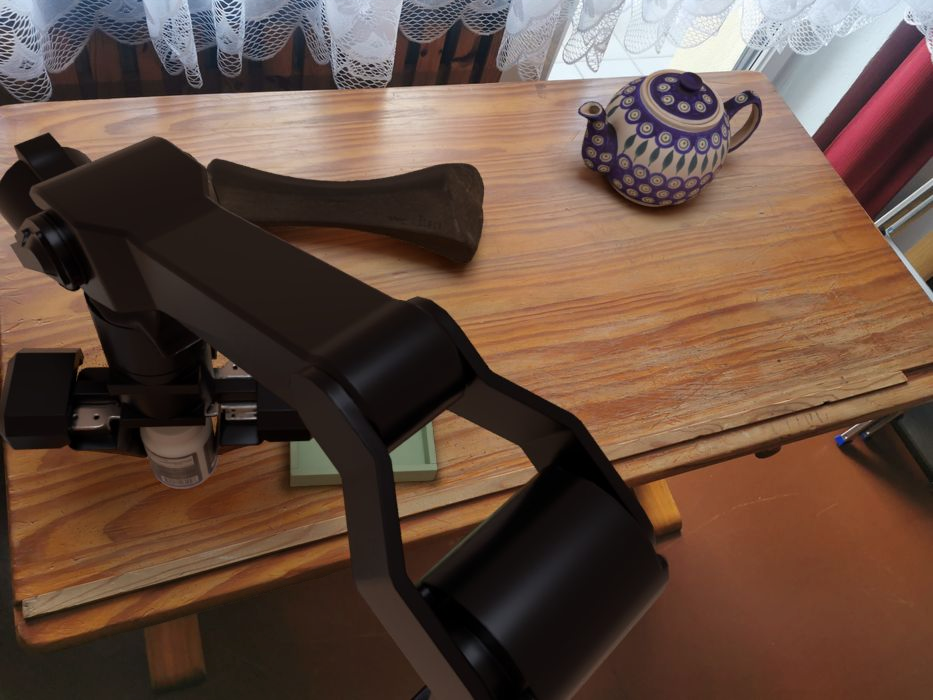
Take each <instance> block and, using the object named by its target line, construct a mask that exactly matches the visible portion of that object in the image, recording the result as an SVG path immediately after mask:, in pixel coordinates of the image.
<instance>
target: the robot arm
mask: <svg viewBox="0 0 933 700" xmlns="http://www.w3.org/2000/svg"><path fill="white" fill-rule="evenodd" d="M13 148H14V151H15V154H16V156H17V159H18V160H16V161H15V162H14V163H13V164H11V166H9V168H8V169H7V170H5V172H4V174H3V176H2V177H1V179H0V215H1V216H2V218H3V219H4V220H5V221H6V222H7V224H8V225H9V226H10V227H11V228H12V229H13V231H14V232H15V234H14V239H15V242H13V243H11V244H9V246H10V247H11V249H12V251H13V252H14V254H15V256H16V257H17V259H18V261H19V262H20V264H21V265H22V267H23V268H24V269H27V270H31V271H33V272H38V273H41V274H44V275H46V276H47V277H49V278H51V279H52V280H53V281H55V282H57V284H58V285H59V286H60V287H62V288H64V289H65V290H66V291H68V292H69V291H70V292H71V293H72V292H73V293H74V292H78V291H79V290H82V291H83V297H84V300H85V303H86V306H87V309H88V311H89V314H90V317H91V320H92V322H93V326H94V329H95V331H96V334H97V337H98V340H99V343H100V346H101V349H102V352H103V355H104V358H105V361H106V363H107V366H87V367H84V368H82V369H80V370H79V368H80V367H81V366H82V365H84V361H85V355H84V353H83V350H82V348H81V347H22V348H21V349H19V350H18V351H17V352H16V353H15V354H13V356H12V357H11V358H9V360H8V361H7V366H6V372H5V375H4V381H3V384H2V385H3V386H2V390H1V395H0V436H1V437H2V439H3V441H5V443H6V444H7V445H8V446H9V447H10V448H11V449H12V450H14V451H30V450H33V451H34V450H60V449H63V448H65V447H66V446H68V447H69V448H70V450H72V451H74V452H90V453H100V454H108V455H109V454H110V455H117V456H125V457H131V458H132V457H133V458H138V459H147V458H148V456H147V453H146V450H145V447H144V444H143V442H142V439H141V436H140V427H179V426H206V417H212V418H216V422H215V429H214V434H215V447H214V454H215V455H216V456H218V457H219V456H223V455H225V454H228V453H230V452H234V451H237V450H240V449H244V448H247V447H257V446H261V445H262V444H263V443H264V442H268V443H288V442H289V443H290V442H297V441H310V440H311V439H312V438H314V439H315V440H316V442H317V443H318V445H319V446H320V447H321V449H322V450H323V452H324V453H325V454H326V456H327V457H328V459H329V460H330V461H331V463H332V464H333V466H334V467H335V468H336V470H337V471H338V473H339V474H340V476H341V480H342V484H341V488H342V496H343V497H342V498H343V504H344V514H345V523H346V531H347V541H348V548H349V549H348V551H349V556H350V568H351V575H352V576H351V577H352V579H353V582H354V585H355V587H356V590H357V592H359V594H360V595H361V597H362V599H364V601H365V602H366V604H367V605H368V607H369V608H370V609H371V610H372V612H373V613H374V615H375V616H376V617H377V619H378V621H379V622H380V623H381V624H382V626H383V627H384V629H385V631H387V633H388V634H389V636H390V637H391V638H392V640H393V641H394V642H395V644H396V646H397V647H398V648H399V650H400V651H401V652H402V654H403V655H404V657H405V658H406V659H407V660H408V662H409V663H410V665H411V666H412V668H413V669H414V670H415V672H416V673H417V675H418V676H419V677H420V679H421V681H423V683H424V685H423V686H422V687H421V689H419V691H417V693H415V694H414V695H413V696H412V697H411V698H410V700H572V698H574V696H575V695H576V694H577V693H578V692H579V690H580V689H581V688H582V687H583V686H584V685H585V683H586V682H587V681H588V680H589V679H590V678H591V677H592V675H594V674H595V672H596V671H597V670H598V669H599V667H600V666H601V665H602V664H603V663H604V661H606V659H607V658H608V657H609V656H610V654H612V653H613V651H614V650H615V649H616V647H617V646H618V645H619V644H620V643H621V642H622V640H624V639H625V637H626V636H627V635H628V634H629V632H630V631H631V630H633V628H634V627H635V626H636V625H637V624H638V622H639V621H640V620H641V618H642V617H644V615H645V614H646V613H647V611H648V610H649V609H651V607H652V606H653V604H654V603H655V602H656V601H657V600H658V599H659V598H660V597H661V595H662V594H664V592H665V591H666V589H667V586H668V583H669V580H670V567H669V563H668V559H667V557H666V555H664V554H663V553H660V552H658V551H656V550H655V546H656V544H657V538H656V531H655V527H654V525H653V522H652V521H651V519H650V517H649V515H648V514H647V512H646V510H645V509H644V507H643V506H642V504H641V503H640V502H639V500H638V499H637V497H636V496H635V495H634V493H633V491H632V490H631V488H629V486H628V484H627V483H626V481H624V479H623V478H622V476H621V475H620V473H619V472H618V470H617V469H616V468H615V466H614V465H613V464H612V462H611V461H610V460H609V458H608V457H607V455H606V454H605V452H604V451H603V449H602V448H601V446H600V445H599V444H598V442H597V441H596V439H595V438H594V437H593V435H592V434H591V432H590V430H588V428H587V427H586V425H585V424H584V422H583V421H582V420H581V419H580V418H579V417H577V416H576V415H575V414H574V413H572V412H571V411H569V410H567V409H565V408H563V407H561V406H559V405H558V404H555V403H553V402H552V401H550V400H547V399H546V398H544V397H542V396H540V395H538V394H537V393H534V392H533V391H530V390H528V389H527V388H526V387H523V386H521V385H519V384H518V383H515V382H514V381H512V380H509V379H508V378H506V377H504V376H503V375H500V374H498V373H496V372H494V371H493V370H492V369H491V368H490V366H489V365H488V364H487V362H486V361H485V360H484V358H483V357H482V355H481V354H480V353H479V351H478V350H477V349H476V347H475V346H474V344H473V343H472V342H471V340H470V339H469V336H467V334H466V333H465V332H464V329H462V327H461V326H460V325H459V323H457V321H456V320H455V319H454V317H452V316H451V314H450V313H449V312H448V311H447V310H446V309H444V308H443V307H442V306H441V305H439V304H437V302H435V301H434V300H433V299H429V298H426V297H424V296H423V297H422V296H419V295H417V296H414V297H411V298H409V299H405V300H404V299H398V298H394V297H393V296H390V295H389V294H387V293H385V292H384V291H381V290H379V289H377V288H375V287H374V286H372V285H370V284H368V283H366V282H364V281H362V280H361V279H358V278H357V277H355V276H353V275H351V274H349V273H347V272H345V271H343V270H342V269H340V268H337V267H335V266H334V265H332V264H330V263H328V262H326V261H324V260H322V259H321V258H318V257H317V256H315V255H313V254H311V253H309V252H307V251H305V250H303V249H301V248H300V247H298V246H296V245H294V244H292V243H290V242H289V241H286V240H284V239H282V238H281V237H279V236H277V235H275V234H273V233H271V232H269V231H267V229H262V228H260V227H258V226H256V225H254V224H252V223H250V222H249V221H247V220H245V219H243V218H241V217H239V216H237V215H235V214H233V213H231V212H230V211H228V210H226V209H224V208H223V207H222V206H220V203H219V199H218V196H217V193H216V190H215V188H214V186H213V184H212V182H211V180H210V177H209V175H208V172H207V166H205V165H204V164H202V163H201V162H199V161H198V160H197V159H196V158H195V157H194V156H193V155H192V154H190V152H187V151H184V150H183V149H181V148H180V147H178V146H177V145H176V144H174V143H173V142H172V141H169V140H168V139H166V138H164V137H161V136H155V135H153V136H150V137H148V138H145V139H143V140H140V141H137V142H135V143H133V144H130V145H128V146H125V147H124V148H121V149H119V150H117V151H114V152H111V153H109V154H106V155H104V156H102V157H99V158H97V159H94V160H91V159H90V157H89V156H88V155H87V154H86V153H84V152H82V151H81V150H79V149H77V148H73V147H70V146H62V145H61V144H60V143H59V141H58V140H56V138H55V137H54V136H53V135H52V133H50V132H45V133H43V134H39V135H38V136H35V137H33V138H30V139H27V140H25V141H22V142H19V143H17V144H14V145H13ZM218 353H219V354H221V355H222V356H223V357H224V358H226V359H227V362H225V364H224V365H223V366H221V367H214V364H213V360H215V361H216V360H217V359H218ZM446 411H448V412H451V413H452V414H454V415H456V416H458V417H459V418H462V419H464V420H466V421H468V422H469V423H472V424H474V425H477V426H478V427H480V428H482V429H484V430H486V431H488V432H490V433H492V434H493V435H496V436H498V437H500V438H502V439H504V440H506V441H508V442H510V443H512V444H514V445H516V446H518V447H519V448H520V449H521V450H522V452H523V453H524V454H525V457H527V459H528V460H529V462H530V463H531V465H532V466H533V467H534V469H535V470H536V471H537V473H536V474H534V475H533V476H532V477H531V478H530V479H529V480H528V481H527V482H526V483H525V484H523V485H522V486H521V487H520V488H519V489H518V490H516V491H515V492H514V493H513V494H511V496H510V497H509V498H508V499H507V500H506V501H504V502H503V503H502V504H501V505H500V506H499V507H498V508H496V509H495V510H494V511H493V512H492V513H491V514H490V515H489V516H488V517H486V518H485V520H483V521H482V522H480V524H479V525H477V527H475V528H474V529H473V530H472V531H471V532H470V533H469V534H468V535H467V536H465V537H464V538H463V539H462V540H461V541H459V542H458V544H456V546H454V547H453V548H452V549H451V550H450V551H449V552H447V553H446V554H445V555H444V556H443V557H442V558H441V559H440V560H439V561H437V562H436V563H435V564H434V565H433V566H432V567H431V568H430V569H428V570H427V571H426V572H425V573H424V574H423V575H422V576H420V578H419V579H418V580H416V581H415V582H413V581H412V579H411V578H410V577H409V575H408V572H407V568H406V560H405V551H404V545H403V544H404V543H403V537H402V530H401V520H400V513H399V505H398V498H397V490H396V482H394V474H393V466H392V460H391V457H390V455H389V454H390V453H391V452H392V451H393V450H395V449H396V448H397V447H399V446H400V445H401V444H403V443H404V442H405V441H406V440H408V439H409V438H410V437H412V436H413V435H414V434H416V433H417V432H418V431H420V430H421V429H422V428H423V427H425V426H426V425H427V424H429V423H430V422H431V421H432V422H433V421H434V420H435V419H436V418H438V417H439V416H440V415H442V414H443V413H444V412H446Z"/></svg>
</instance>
